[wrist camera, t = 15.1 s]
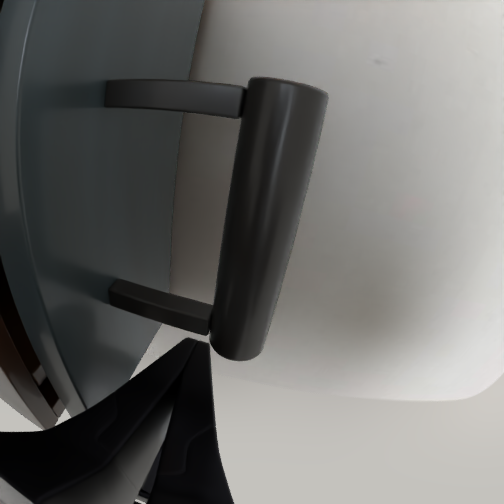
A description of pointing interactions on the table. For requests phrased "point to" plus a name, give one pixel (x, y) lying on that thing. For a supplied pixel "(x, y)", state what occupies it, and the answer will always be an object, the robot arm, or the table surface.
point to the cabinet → (26, 387)
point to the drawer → (132, 189)
